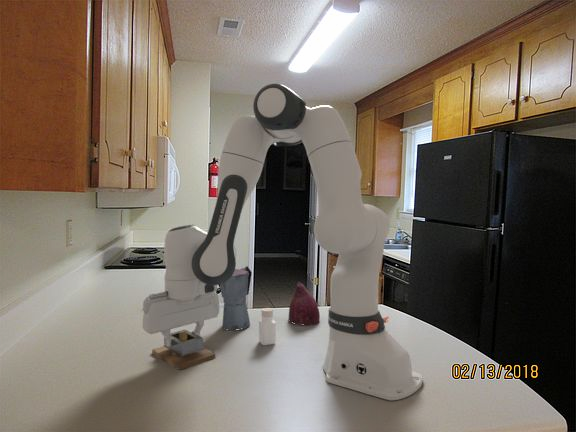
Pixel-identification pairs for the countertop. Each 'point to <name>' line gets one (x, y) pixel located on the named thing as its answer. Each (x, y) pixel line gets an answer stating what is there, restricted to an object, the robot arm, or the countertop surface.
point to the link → (185, 343)
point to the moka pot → (236, 299)
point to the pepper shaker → (267, 327)
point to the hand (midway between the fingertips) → (183, 341)
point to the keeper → (186, 360)
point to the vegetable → (303, 307)
